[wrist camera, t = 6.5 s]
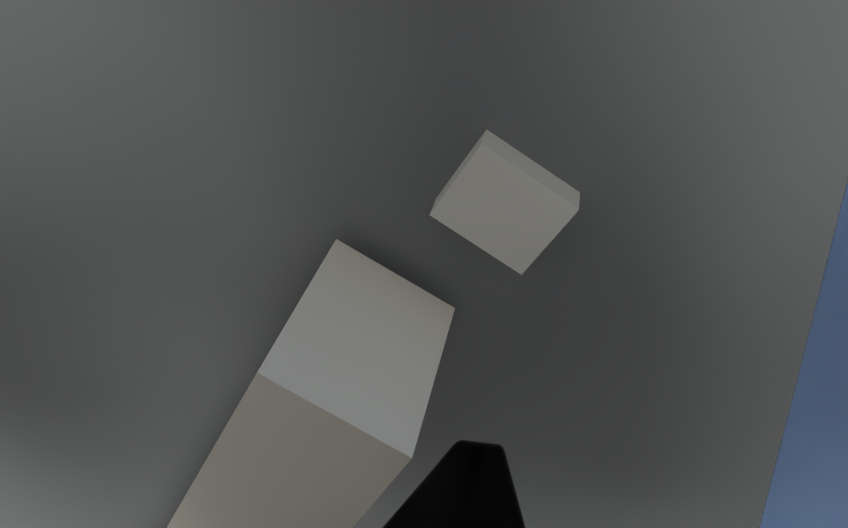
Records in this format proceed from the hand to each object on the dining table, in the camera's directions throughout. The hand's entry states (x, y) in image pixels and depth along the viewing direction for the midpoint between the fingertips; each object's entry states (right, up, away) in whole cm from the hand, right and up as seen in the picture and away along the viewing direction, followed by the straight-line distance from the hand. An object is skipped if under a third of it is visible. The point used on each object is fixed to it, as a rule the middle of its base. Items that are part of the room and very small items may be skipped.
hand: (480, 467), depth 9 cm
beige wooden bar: (-4, -2, +3) cm, 6 cm away
